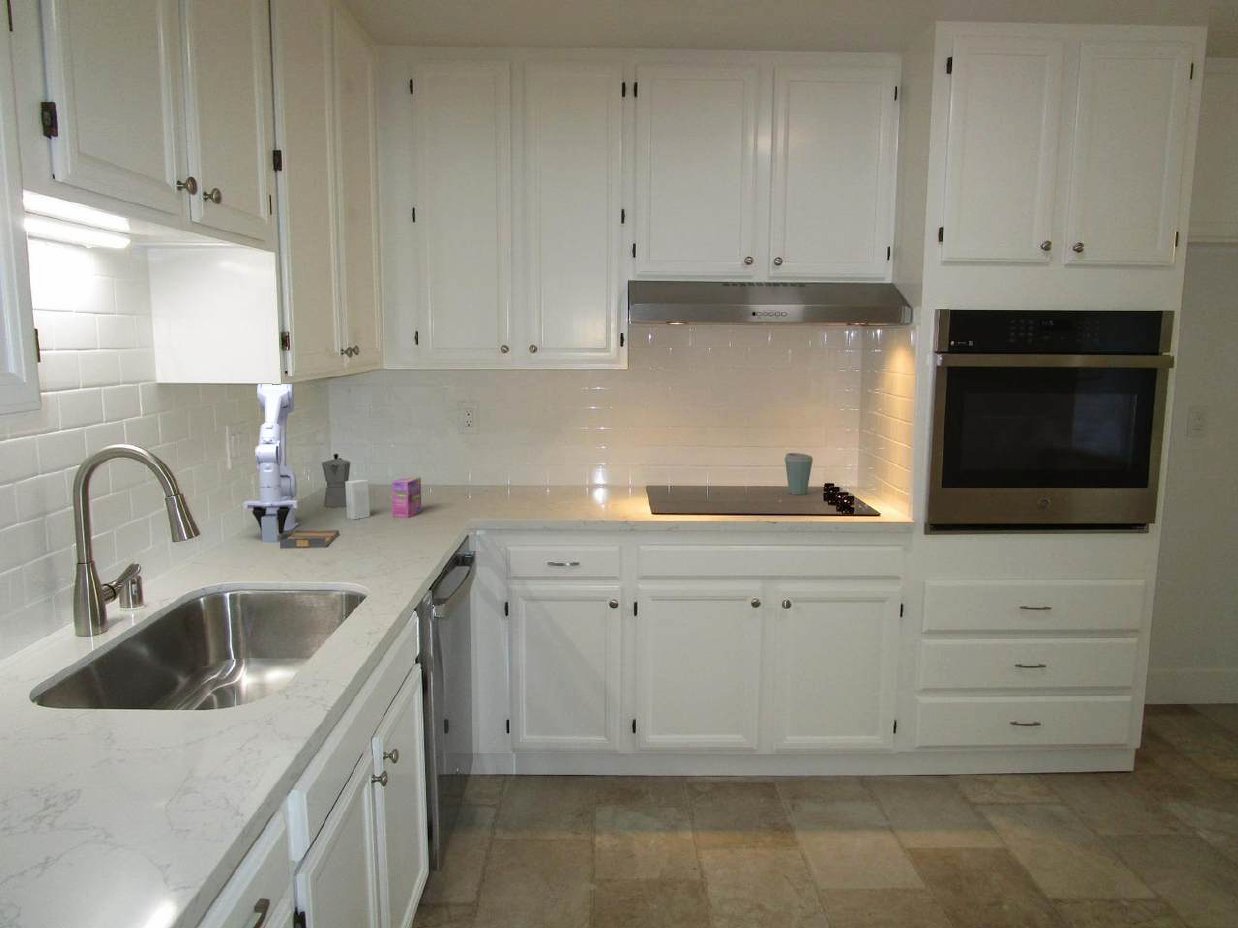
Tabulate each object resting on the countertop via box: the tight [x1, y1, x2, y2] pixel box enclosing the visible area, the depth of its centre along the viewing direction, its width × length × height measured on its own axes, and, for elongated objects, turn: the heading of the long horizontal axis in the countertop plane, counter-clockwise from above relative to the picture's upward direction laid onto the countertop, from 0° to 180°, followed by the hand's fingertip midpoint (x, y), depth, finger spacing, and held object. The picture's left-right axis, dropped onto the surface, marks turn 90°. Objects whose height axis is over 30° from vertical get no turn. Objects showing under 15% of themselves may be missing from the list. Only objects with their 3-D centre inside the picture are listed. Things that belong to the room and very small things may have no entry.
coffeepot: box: [321, 453, 351, 509], centre depth 296 cm, size 15×9×18 cm, turn 8°
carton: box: [261, 513, 284, 543], centre depth 244 cm, size 4×6×7 cm
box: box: [391, 476, 422, 519], centre depth 281 cm, size 10×6×12 cm, turn 168°
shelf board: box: [286, 529, 340, 547], centre depth 244 cm, size 16×12×1 cm
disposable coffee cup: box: [784, 452, 814, 495], centre depth 324 cm, size 11×11×15 cm
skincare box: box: [345, 479, 371, 520], centre depth 275 cm, size 6×4×12 cm
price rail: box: [279, 538, 327, 549], centre depth 235 cm, size 1×12×2 cm, turn 96°
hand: (272, 533), depth 244 cm, fingers closed on carton, 4 cm apart
